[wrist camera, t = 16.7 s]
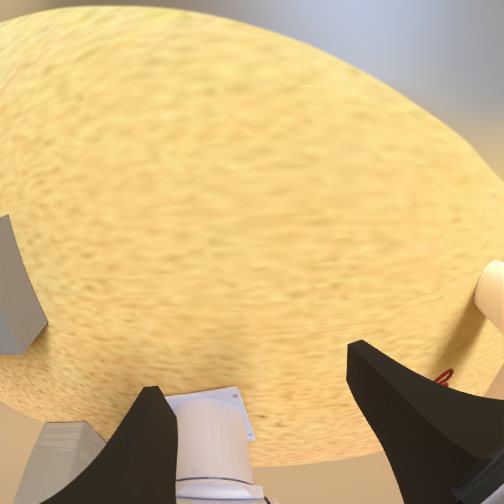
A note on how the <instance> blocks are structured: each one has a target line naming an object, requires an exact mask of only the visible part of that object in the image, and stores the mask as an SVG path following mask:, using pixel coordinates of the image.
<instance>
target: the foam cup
mask: <svg viewBox="0 0 504 504" xmlns="http://www.w3.org/2000/svg"><path fill="white" fill-rule="evenodd" d="M474 303H475V305H476V306H477V308H479V310H480V311H481V312H482V313H483V314H484V315H485V316H486V317H487V318H488V319H489V320H490V321H491V322H492V323H493V324H494V325H495V326H496V328H497V329H498V330H499V331H500V332H501V333H502V334H503V335H504V263H503V262H500V261H496V260H494V261H493V262H491V263H489V264H488V266H487V267H486V268H485V270H484V271H483V273H482V275H481V277H480V279H479V281H478V283H477V287H476V291H475V298H474Z"/></svg>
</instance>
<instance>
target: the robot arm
mask: <svg viewBox="0 0 504 504" xmlns="http://www.w3.org/2000/svg"><path fill="white" fill-rule="evenodd" d="M346 381H347V383H348V385H349V388H350V390H351V392H352V395H353V397H354V399H355V401H356V403H357V405H358V406H359V408H360V410H361V411H362V413H363V415H364V416H365V418H366V420H367V421H368V423H369V425H370V426H371V428H372V430H373V431H374V433H375V434H376V436H377V438H378V439H379V441H380V443H381V445H382V447H383V449H384V451H385V453H386V456H387V458H388V460H389V462H390V465H391V467H392V470H393V472H394V475H395V477H396V480H397V483H398V486H399V489H400V491H401V494H402V498H403V501H404V504H504V400H498V399H491V398H485V397H480V396H476V395H472V394H468V393H464V392H461V391H458V390H454V389H451V388H449V387H446V386H444V385H441V384H439V383H436V382H434V381H432V380H429V379H427V378H425V377H423V376H421V375H419V374H417V373H415V372H414V371H412V370H410V369H408V368H407V367H405V366H403V365H401V364H400V363H398V362H396V361H395V360H393V359H392V358H390V357H388V356H387V355H385V354H384V353H382V352H381V351H379V350H378V349H376V348H375V347H373V346H371V345H370V344H368V343H367V342H365V341H364V340H359V341H356V342H353V343H350V344H348V351H347V376H346ZM234 394H236V395H234ZM255 439H256V437H255V434H254V431H253V428H252V426H251V423H250V420H249V417H248V414H247V411H246V408H245V406H244V403H243V400H242V397H241V394H240V391H239V388H238V387H235V386H232V387H227V388H221V389H215V390H209V391H203V392H196V393H189V394H181V395H172V396H164V395H163V394H162V392H161V390H160V388H159V387H158V386H151V387H144V388H143V389H142V391H141V392H140V394H139V395H138V397H137V398H136V400H135V402H134V403H133V405H132V406H131V408H130V410H129V411H128V413H127V414H126V416H125V418H124V419H123V421H122V422H121V424H120V425H119V427H118V428H117V430H116V431H115V433H114V434H113V436H112V437H111V438H110V440H109V441H108V442H107V444H106V445H105V447H104V448H103V449H102V450H101V452H100V453H99V454H98V455H97V457H96V458H95V459H94V460H93V461H92V462H91V463H90V464H89V465H88V467H87V468H86V469H85V470H83V471H82V472H81V473H80V474H79V475H78V476H77V477H76V478H75V479H74V480H73V481H72V482H70V483H69V484H68V485H67V486H65V487H64V488H63V489H62V490H60V491H59V492H57V493H56V494H55V495H53V496H52V497H50V498H48V499H47V500H45V501H43V502H41V503H40V504H280V503H279V502H278V501H277V500H276V499H275V498H274V497H273V496H271V495H264V493H263V488H262V486H261V485H255V483H254V477H253V472H252V466H251V460H250V455H249V449H248V443H247V442H251V441H254V440H255Z"/></svg>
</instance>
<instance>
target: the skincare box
mask: <svg viewBox="0 0 504 504" xmlns="http://www.w3.org/2000/svg"><path fill="white" fill-rule="evenodd" d="M106 444H107V442H106V441H104V440H103V439H102V438H101V437H100V436H99V434H98V433H97V432H96V431H95V430H94V429H93V428H92V427H91V426H90V425H89V424H88V423H87V422H66V423H45V424H44V426H43V428H42V430H41V433H40V435H39V437H38V439H37V442H36V444H35V446H34V449H33V451H32V453H31V456H30V458H29V461H28V463H27V466H26V468H25V471H24V474H23V477H22V479H21V482H20V485H19V487H18V490H17V494H16V496H15V500H14V503H13V504H40V503H41V502H43V501H45V500H47V499H48V498H50V497H52V496H53V495H55V494H56V493H57V492H59V491H60V490H62V489H63V488H64V487H65V486H67V485H68V484H69V483H70V482H72V481H73V480H74V479H75V478H76V477H77V476H78V475H79V474H80V473H81V472H82V471H83V470H85V469H86V468H87V467H88V465H89V464H90V463H91V462H92V461H93V460H94V459H95V458H96V457H97V455H98V454H99V453H100V452H101V450H102V449H103V448H104V447H105V445H106Z"/></svg>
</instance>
